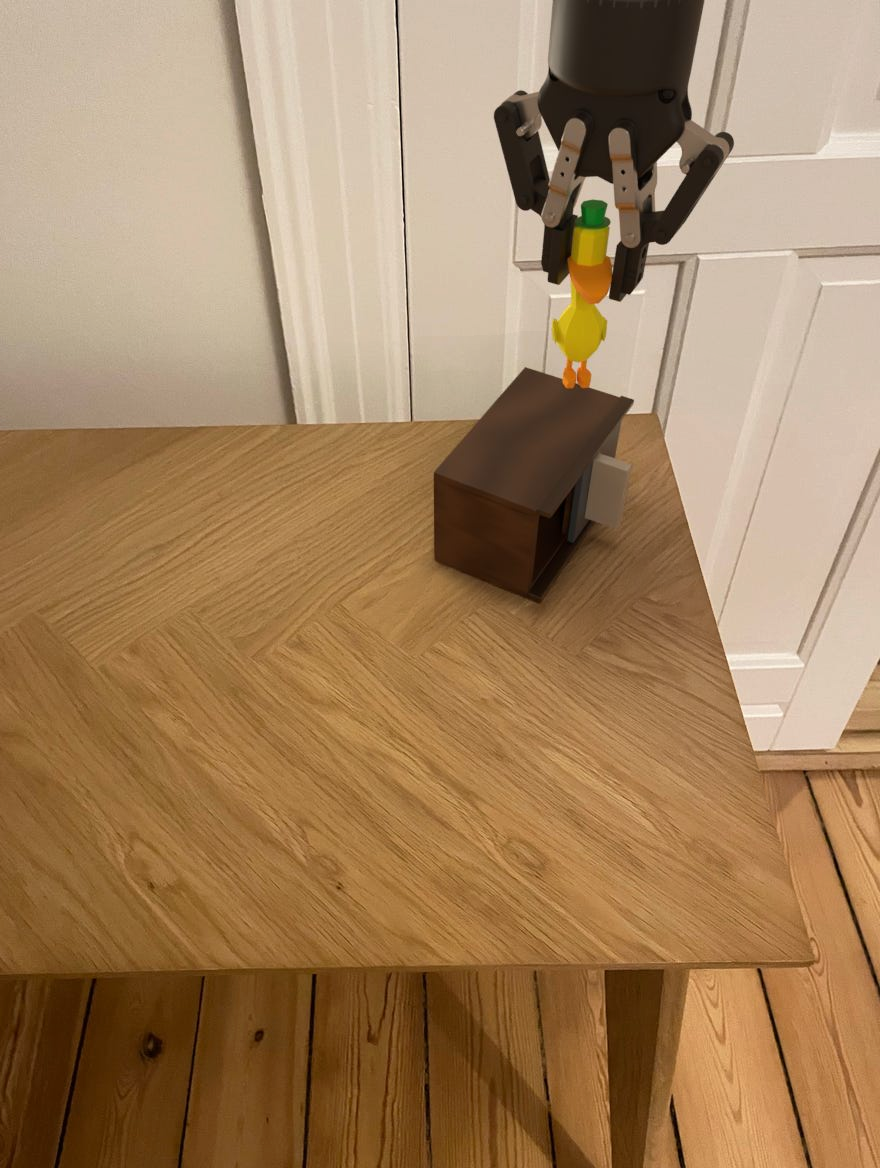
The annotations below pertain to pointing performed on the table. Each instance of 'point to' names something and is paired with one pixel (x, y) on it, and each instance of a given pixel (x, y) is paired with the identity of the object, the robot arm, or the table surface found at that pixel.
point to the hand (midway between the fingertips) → (588, 284)
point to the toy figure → (585, 292)
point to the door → (600, 490)
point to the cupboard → (521, 482)
